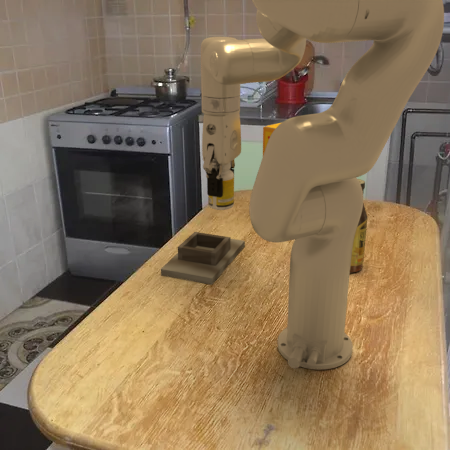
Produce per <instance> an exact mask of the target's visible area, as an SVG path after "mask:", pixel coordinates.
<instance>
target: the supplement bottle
mask: <svg viewBox="0 0 450 450" xmlns="http://www.w3.org/2000/svg"><path fill="white" fill-rule="evenodd" d="M213 162H214V163H218V161H217V160H214V159H213ZM212 166H213V168H215V169H216V171H217V168H218V166H214V165H212ZM230 168H231V162H230V163H228V164H227V165H225V166H224V165H222V172H221V178H223V196H222V197H214V196H209V195H208V194H207V195H208V196H207V199H208V201H207V204H208V207H209V208H211V209H213V210H217V211H227V210H230V209H232V208H233V207H234V205H235V204H234V203H235V172H234V173H233V172H232V171H231V170H230Z"/></svg>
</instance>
